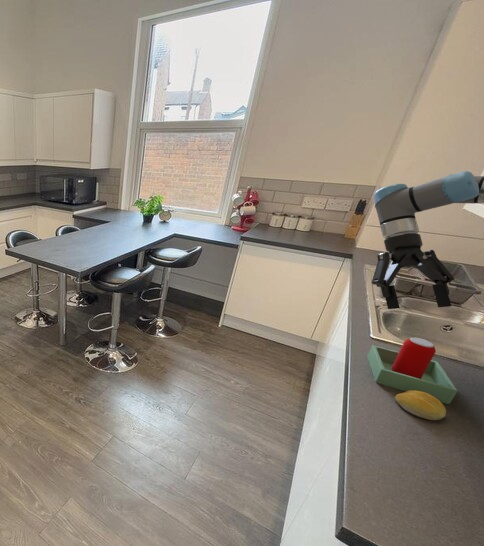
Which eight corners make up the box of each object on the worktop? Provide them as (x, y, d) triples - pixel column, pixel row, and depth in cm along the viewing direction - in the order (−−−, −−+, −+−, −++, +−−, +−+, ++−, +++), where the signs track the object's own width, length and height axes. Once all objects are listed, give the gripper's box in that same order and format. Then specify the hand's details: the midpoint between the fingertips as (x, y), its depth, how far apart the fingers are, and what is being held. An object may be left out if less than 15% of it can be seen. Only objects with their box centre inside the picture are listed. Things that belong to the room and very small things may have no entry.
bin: (431, 374, 93) (437, 361, 91) (449, 404, 81) (457, 390, 80) (366, 356, 100) (372, 344, 98) (375, 382, 89) (381, 369, 87)
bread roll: (387, 401, 82) (393, 389, 81) (409, 394, 85) (415, 382, 83) (428, 426, 75) (435, 413, 73) (451, 417, 77) (458, 405, 76)
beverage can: (425, 382, 88) (444, 347, 84) (407, 384, 87) (426, 349, 83) (401, 368, 94) (418, 334, 89) (384, 370, 93) (400, 336, 88)
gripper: (432, 238, 95) (451, 307, 90) (346, 242, 96) (361, 310, 92) (460, 229, 87) (482, 304, 83) (367, 234, 89) (384, 308, 85)
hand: (419, 307), depth 88 cm, fingers open, 13 cm apart
